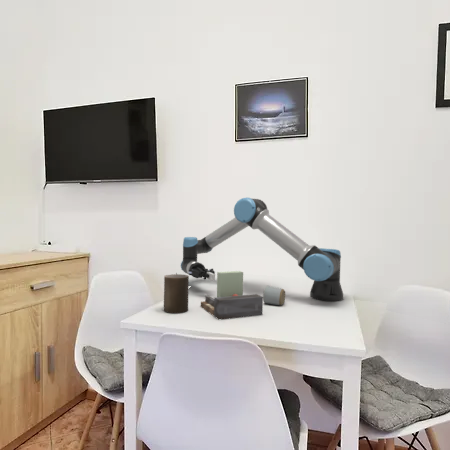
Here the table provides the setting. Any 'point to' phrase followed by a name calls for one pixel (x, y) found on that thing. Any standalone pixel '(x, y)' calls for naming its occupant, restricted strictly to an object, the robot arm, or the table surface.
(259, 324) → the table surface
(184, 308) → the pillar candle
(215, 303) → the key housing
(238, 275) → the sage green upright block
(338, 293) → the robot arm
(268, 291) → the grey cylinder
